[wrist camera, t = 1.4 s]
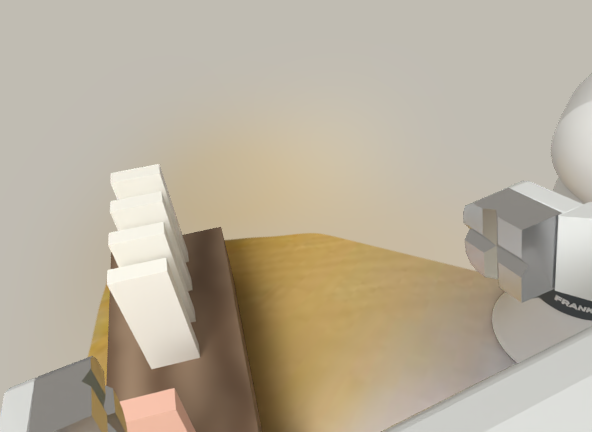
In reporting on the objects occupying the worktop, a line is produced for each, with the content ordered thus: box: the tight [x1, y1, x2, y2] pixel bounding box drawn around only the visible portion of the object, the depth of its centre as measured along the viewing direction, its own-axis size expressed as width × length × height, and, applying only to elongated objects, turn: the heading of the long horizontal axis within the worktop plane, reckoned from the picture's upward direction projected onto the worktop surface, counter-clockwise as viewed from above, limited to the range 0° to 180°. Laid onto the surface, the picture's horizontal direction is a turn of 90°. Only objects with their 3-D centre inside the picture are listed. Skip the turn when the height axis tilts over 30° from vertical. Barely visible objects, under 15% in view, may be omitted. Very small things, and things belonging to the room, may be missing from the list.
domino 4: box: [107, 258, 200, 369], centre depth 48 cm, size 5×2×14 cm, turn 103°
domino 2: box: [110, 191, 193, 291], centre depth 55 cm, size 5×2×14 cm, turn 103°
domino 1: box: [111, 164, 189, 262], centre depth 58 cm, size 5×2×14 cm, turn 103°
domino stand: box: [107, 227, 262, 432], centre depth 57 cm, size 14×34×10 cm, turn 13°
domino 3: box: [108, 222, 196, 322], centre depth 52 cm, size 5×2×14 cm, turn 103°
